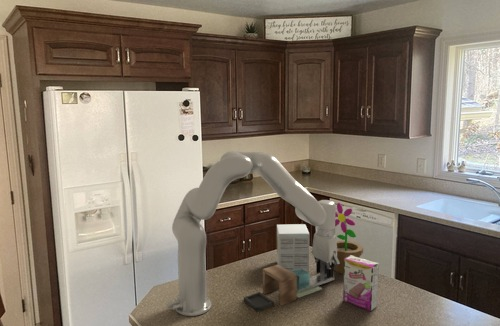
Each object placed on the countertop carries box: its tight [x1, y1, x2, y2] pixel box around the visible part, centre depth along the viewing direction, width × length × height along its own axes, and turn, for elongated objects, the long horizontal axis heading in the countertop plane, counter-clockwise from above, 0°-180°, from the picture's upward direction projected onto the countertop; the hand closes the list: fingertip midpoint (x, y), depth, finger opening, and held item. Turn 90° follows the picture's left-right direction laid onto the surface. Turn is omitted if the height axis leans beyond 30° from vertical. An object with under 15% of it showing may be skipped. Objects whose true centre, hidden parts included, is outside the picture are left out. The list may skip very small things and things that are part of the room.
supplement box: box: [276, 223, 310, 274], centre depth 174 cm, size 13×13×18 cm
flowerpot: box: [334, 202, 364, 275], centre depth 170 cm, size 14×14×30 cm
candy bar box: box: [342, 255, 380, 312], centre depth 142 cm, size 11×5×16 cm, turn 47°
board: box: [297, 285, 323, 299], centre depth 155 cm, size 12×10×1 cm
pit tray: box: [243, 291, 275, 312], centre depth 144 cm, size 7×9×2 cm
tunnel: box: [262, 264, 298, 306], centre depth 149 cm, size 7×11×10 cm, turn 33°
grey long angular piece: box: [292, 260, 335, 292], centre depth 157 cm, size 19×6×8 cm, turn 123°
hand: (324, 274), depth 161 cm, fingers open, 5 cm apart
